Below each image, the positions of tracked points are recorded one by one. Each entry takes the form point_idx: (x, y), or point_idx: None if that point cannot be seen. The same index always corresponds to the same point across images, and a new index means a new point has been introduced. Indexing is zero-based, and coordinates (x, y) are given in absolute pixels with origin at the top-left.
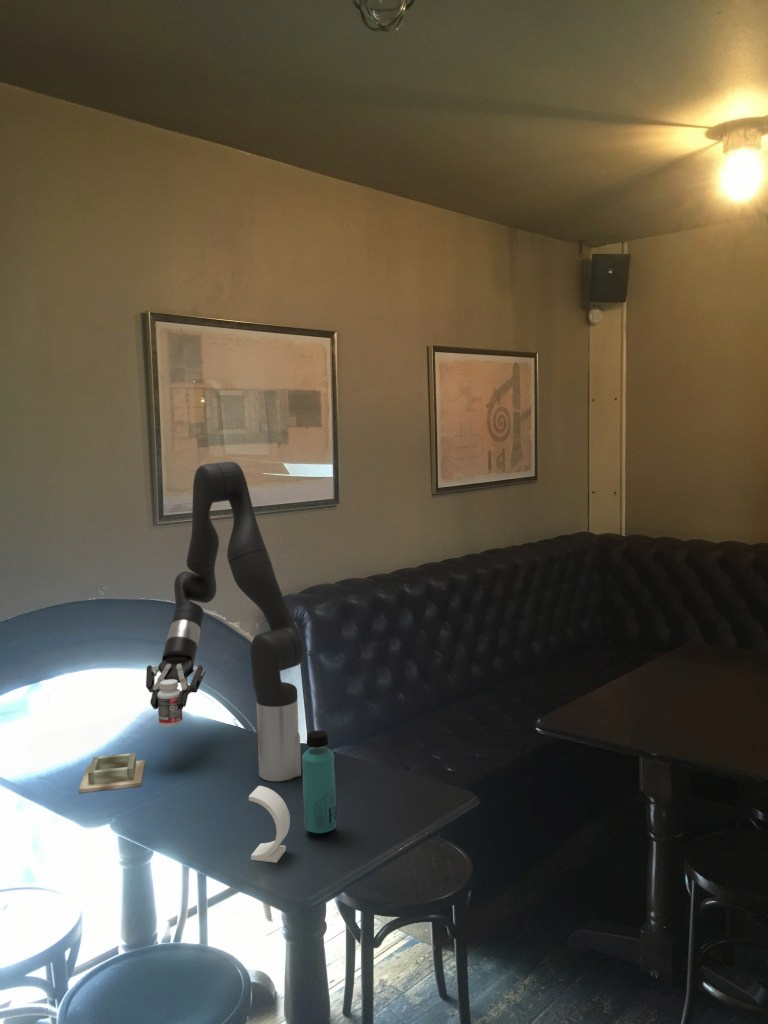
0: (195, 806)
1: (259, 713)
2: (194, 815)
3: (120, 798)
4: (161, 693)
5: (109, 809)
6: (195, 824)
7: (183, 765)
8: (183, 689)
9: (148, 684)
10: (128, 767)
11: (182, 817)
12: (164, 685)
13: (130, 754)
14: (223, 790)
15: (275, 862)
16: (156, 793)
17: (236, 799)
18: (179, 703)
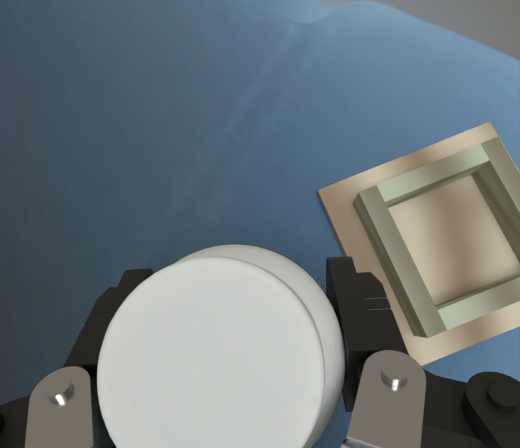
0: (111, 99)
1: None
2: (99, 56)
3: (337, 113)
4: (273, 269)
5: (333, 52)
6: (84, 18)
7: None
8: (73, 375)
9: (506, 400)
10: (378, 199)
11: (125, 43)
12: (224, 258)
13: (439, 318)
14: (61, 198)
15: None
16: (247, 155)
17: (13, 150)
18: (128, 273)
